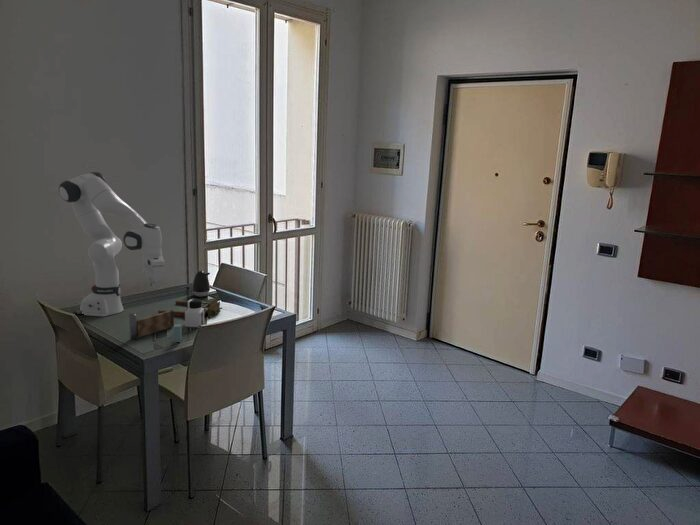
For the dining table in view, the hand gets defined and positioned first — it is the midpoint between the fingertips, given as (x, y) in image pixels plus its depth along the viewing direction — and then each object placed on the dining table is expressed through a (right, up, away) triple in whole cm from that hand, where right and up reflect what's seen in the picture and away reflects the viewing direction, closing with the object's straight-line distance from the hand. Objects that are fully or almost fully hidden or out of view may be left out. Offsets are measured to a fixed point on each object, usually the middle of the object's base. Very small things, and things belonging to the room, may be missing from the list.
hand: (153, 286), depth 248 cm
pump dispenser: (+6, -8, +60) cm, 61 cm away
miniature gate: (+10, -16, +31) cm, 36 cm away
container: (+16, -20, +13) cm, 29 cm away
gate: (+1, -21, -1) cm, 21 cm away
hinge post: (-5, -24, -10) cm, 26 cm away
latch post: (+15, -25, -10) cm, 31 cm away
